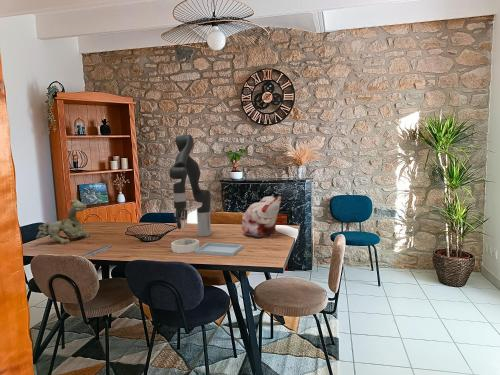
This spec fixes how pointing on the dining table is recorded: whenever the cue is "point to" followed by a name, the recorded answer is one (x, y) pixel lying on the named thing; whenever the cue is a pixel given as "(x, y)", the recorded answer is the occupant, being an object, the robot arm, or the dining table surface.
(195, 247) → the bowl
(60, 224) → the sculpture
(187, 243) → the stone slate
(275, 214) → the sculpture
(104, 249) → the plaque
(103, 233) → the dining table surface
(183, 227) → the stone sand
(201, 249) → the tray
